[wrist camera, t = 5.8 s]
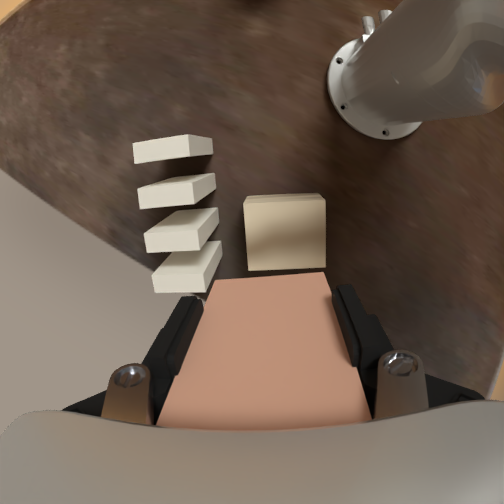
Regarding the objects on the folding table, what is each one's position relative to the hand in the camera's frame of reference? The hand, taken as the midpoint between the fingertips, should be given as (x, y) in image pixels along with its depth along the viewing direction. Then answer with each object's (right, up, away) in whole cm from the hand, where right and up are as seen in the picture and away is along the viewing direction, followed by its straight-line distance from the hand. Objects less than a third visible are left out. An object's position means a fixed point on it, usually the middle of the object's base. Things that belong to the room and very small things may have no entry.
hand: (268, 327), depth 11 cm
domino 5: (0, +1, +3) cm, 3 cm away
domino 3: (-7, +7, +24) cm, 26 cm away
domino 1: (-8, +15, +21) cm, 27 cm away
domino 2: (-7, +11, +23) cm, 26 cm away
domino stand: (+3, +6, +23) cm, 24 cm away
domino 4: (-7, +3, +25) cm, 26 cm away
